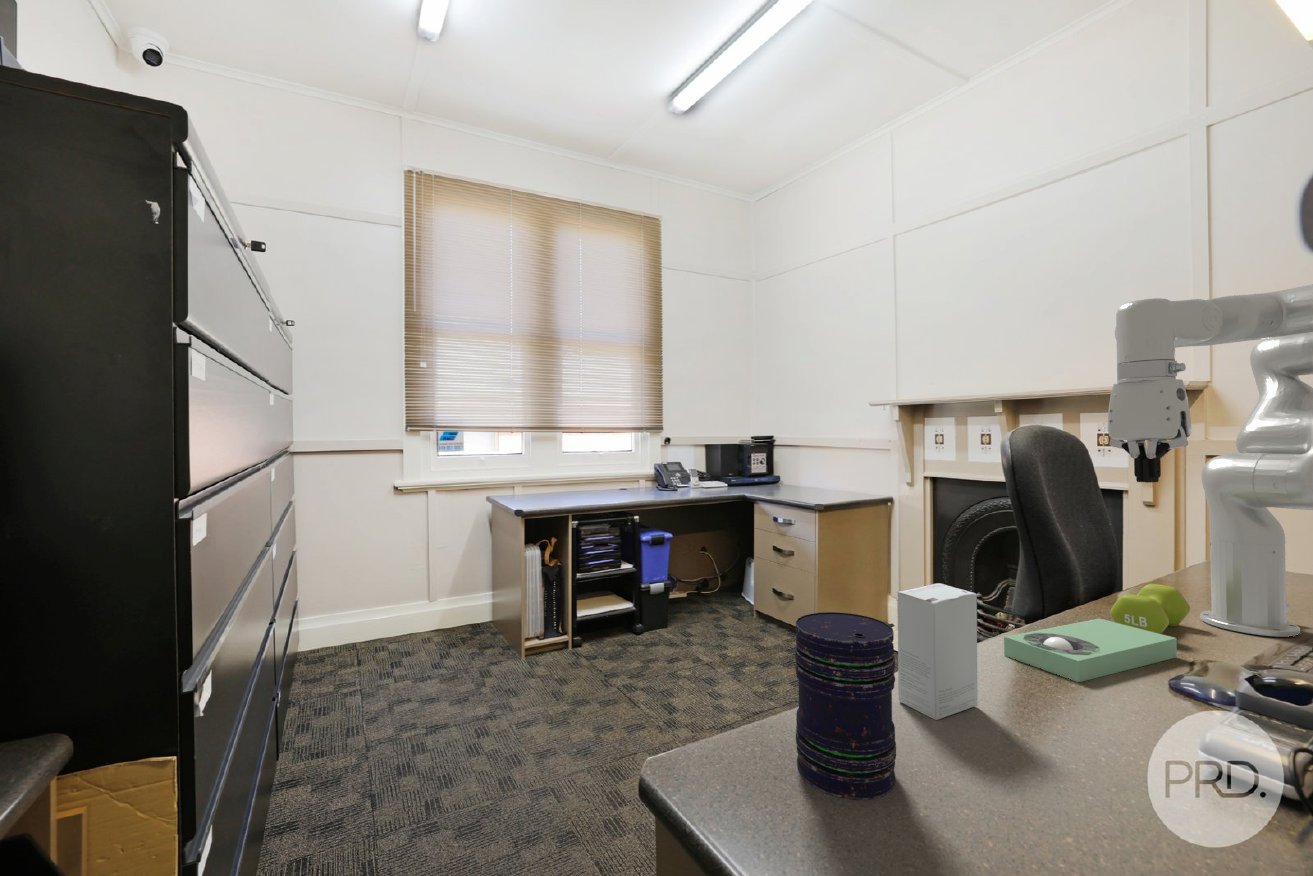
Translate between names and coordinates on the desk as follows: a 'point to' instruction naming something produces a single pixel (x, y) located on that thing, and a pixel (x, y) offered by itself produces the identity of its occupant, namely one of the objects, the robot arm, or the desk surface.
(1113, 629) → the putting mat
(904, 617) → the skincare box
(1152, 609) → the dumbbell
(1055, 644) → the white egg
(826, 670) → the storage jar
